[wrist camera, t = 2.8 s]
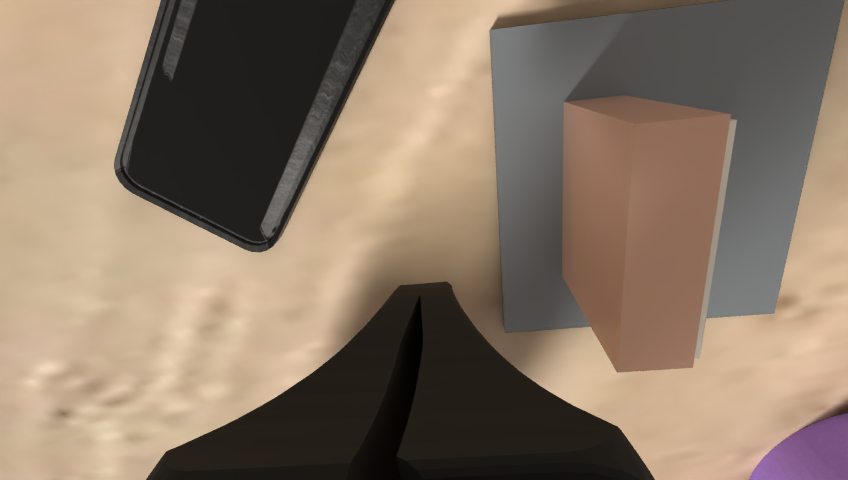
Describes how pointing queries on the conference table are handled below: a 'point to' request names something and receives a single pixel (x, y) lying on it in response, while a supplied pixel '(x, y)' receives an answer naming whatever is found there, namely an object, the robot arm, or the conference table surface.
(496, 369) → the robot arm
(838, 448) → the masking tape
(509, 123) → the mat
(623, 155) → the light brown rectangular block
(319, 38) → the phone
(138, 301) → the conference table surface
